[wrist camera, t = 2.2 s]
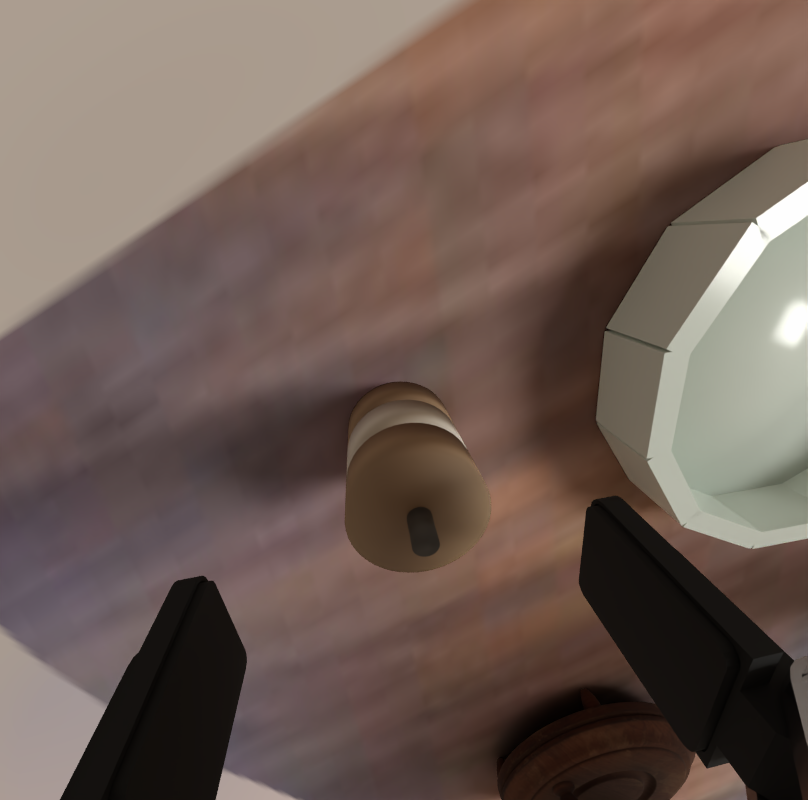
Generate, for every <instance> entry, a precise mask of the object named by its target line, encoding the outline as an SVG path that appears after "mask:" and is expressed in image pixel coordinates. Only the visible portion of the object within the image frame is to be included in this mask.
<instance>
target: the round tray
mask: <svg viewBox="0 0 808 800" xmlns="http://www.w3.org/2000/svg"><path fill="white" fill-rule="evenodd" d="M671 225H672V226H668V227H667V228H666V230H665V232H664V233H663V235H662V236H661V238H660V240H659V241H658V243H657V245H656V246H655V248H654V250H653V251H652V253H651V254H650V256H649V258H648V259H647V261H646V263H645V264H644V266H643V268H642V269H641V271H640V273H639V274H638V276H637V277H636V279H635V281H634V282H633V284H632V286H631V287H630V289H629V291H628V292H627V294H626V296H625V297H624V299H623V300H622V302H621V304H620V305H619V307H618V309H617V310H616V312H615V314H614V315H613V317H612V318H611V320H610V322H609V323H608V325H607V327H606V328H607V329H609V331H605V333H604V343H603V352H602V362H601V372H600V382H599V392H598V402H597V412H596V421H597V425H598V427H599V429H600V430H601V432H602V434H603V435H604V437H605V439H606V441H607V442H608V444H609V446H610V448H611V449H612V451H613V453H614V454H615V456H616V458H617V460H618V461H619V463H620V465H621V466H622V468H623V470H624V472H625V473H626V475H627V477H628V479H629V480H630V481H631V482H632V483H633V484H635V485H636V486H637V487H638V488H639V489H640V490H641V491H643V492H644V493H645V494H646V495H647V496H648V497H649V498H651V499H652V500H653V501H654V502H655V503H656V504H657V505H659V506H660V507H661V508H662V509H663V510H664V511H665V512H667V513H668V514H669V515H670V516H671V517H672V518H673V519H675V520H676V521H677V522H678V523H679V524H680V525H681V526H683V527H685V528H688V529H691V530H694V531H697V532H700V533H703V534H706V535H709V536H712V537H715V538H718V539H721V540H724V541H727V542H730V543H734V544H737V545H740V546H743V547H746V548H749V549H750V548H752V549H755V548H760V547H766V546H771V545H776V544H781V543H787V542H792V541H797V540H802V539H808V139H806V140H801V141H797V142H792V143H788V144H783V145H779V146H778V147H774V148H773V149H771V150H770V151H769V152H767V153H766V154H765V155H763V156H762V157H761V158H759V159H758V160H756V161H755V162H754V163H752V164H751V165H750V166H748V167H747V168H745V169H744V170H743V171H741V172H740V173H739V174H737V175H736V176H734V177H733V178H732V179H730V180H729V181H728V182H726V183H725V184H723V185H722V186H721V187H719V188H718V189H717V190H715V191H714V192H712V193H711V194H710V195H708V196H707V197H706V198H704V199H703V200H701V201H700V202H699V203H697V204H696V205H695V206H693V207H692V208H690V209H689V210H688V211H686V212H685V213H684V214H682V215H681V216H679V217H678V218H677V219H675V220H674V221H673V222H671Z"/></svg>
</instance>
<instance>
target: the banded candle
mask: <svg viewBox="0 0 808 800" xmlns="http://www.w3.org/2000/svg"><path fill="white" fill-rule="evenodd" d="M490 514H491V499H490V494H489V491H488V488H487V486H486V484H485V482H484V480H483V478H482V476H481V474H480V473H479V471H478V469H477V467H476V465H475V463H474V461H473V459H472V458H471V456H470V454H469V452H468V450H467V448H466V446H465V444H464V443H463V441H462V439H461V437H460V435H459V433H458V431H457V429H456V428H455V426H454V424H453V422H452V420H451V418H450V416H449V414H448V412H447V411H446V409H445V407H444V405H443V403H442V402H441V400H440V399H439V398H438V397H437V396H436V395H435V394H434V393H433V392H432V391H430V390H429V389H427V388H425V387H423V386H421V385H418V384H415V383H410V382H392V383H387V384H384V385H381V386H378V387H376V388H374V389H373V390H371V391H370V392H368V393H367V394H366V395H364V396H363V397H362V398H361V399H360V400H359V402H358V403H357V404H356V406H355V407H354V409H353V411H352V413H351V416H350V419H349V425H348V450H347V476H346V502H345V527H346V532H347V535H348V538H349V540H350V542H351V544H352V545H353V547H354V548H355V549H356V551H357V552H358V553H359V554H360V555H361V556H362V557H364V558H365V559H366V560H368V561H369V562H371V563H373V564H374V565H377V566H379V567H381V568H384V569H388V570H391V571H397V572H408V573H409V572H422V571H428V570H433V569H436V568H439V567H442V566H445V565H447V564H449V563H451V562H453V561H455V560H457V559H458V558H460V557H461V556H463V555H464V554H466V553H467V552H468V551H469V550H470V549H471V548H472V547H473V546H474V545H475V544H476V543H477V542H478V541H479V539H480V538H481V536H482V535H483V533H484V531H485V529H486V527H487V525H488V522H489V519H490Z"/></svg>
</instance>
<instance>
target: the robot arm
mask: <svg viewBox="0 0 808 800" xmlns="http://www.w3.org/2000/svg"><path fill="white" fill-rule="evenodd" d="M579 585H580V588H581V591H582V593H583V595H584V597H585V598H586V600H587V601H588V603H589V604H590V606H591V607H592V609H593V610H594V612H595V613H596V615H597V616H598V618H599V619H600V621H601V622H602V624H603V625H604V627H605V628H606V630H607V631H608V633H609V634H610V636H611V637H612V639H613V640H614V642H615V643H616V645H617V646H618V648H619V649H620V651H621V652H622V654H623V655H624V657H625V658H626V660H627V661H628V663H629V664H630V666H631V667H632V669H633V670H634V672H635V673H636V675H637V676H638V678H639V679H640V681H641V682H642V684H643V685H644V687H645V688H646V690H647V691H648V693H649V694H650V696H651V697H652V699H653V700H654V702H655V703H656V705H657V706H658V708H659V709H660V711H661V712H662V714H663V715H664V717H665V718H666V720H667V721H668V723H669V724H670V726H671V728H672V729H673V731H674V732H675V734H676V735H677V737H678V738H679V740H680V741H681V742H682V744H683V745H684V746H685V747H686V748H687V749H688V750H690V751H691V752H696V753H697V755H698V756H699V758H700V759H701V761H702V762H703V764H704V765H705V767H706V768H711V767H715V766H718V765H722V764H726V763H730V764H731V766H732V767H733V768H734V770H735V771H736V772H737V774H738V775H739V776H740V778H741V779H742V781H743V782H744V783H745V786H746V794H747V800H808V656H804V657H801V658H799V659H796V660H795V661H794V660H793V659H792V658H791V657H790V656H789V655H788V654H786V653H785V652H784V651H783V650H782V649H781V648H780V647H779V646H778V645H777V644H776V643H775V642H774V641H773V640H772V639H771V638H770V637H768V636H767V635H766V634H765V633H764V632H763V631H762V630H761V629H760V628H759V627H758V626H757V625H756V624H755V623H754V622H753V621H752V620H750V619H749V618H748V617H747V616H746V615H745V614H744V613H743V612H742V611H741V610H740V609H739V608H738V607H737V606H736V605H735V604H734V603H732V602H731V601H730V600H729V599H728V598H727V597H726V596H725V595H724V594H723V593H722V592H721V591H720V590H719V589H718V588H717V587H716V586H714V585H713V584H712V583H711V582H710V581H709V580H708V579H707V578H706V577H705V576H704V575H703V574H702V573H701V572H700V571H699V570H698V569H696V568H695V567H694V566H693V565H692V564H691V563H690V562H689V561H688V560H687V559H686V558H685V557H684V556H683V555H682V554H681V553H680V552H678V551H677V550H676V549H675V548H673V547H672V546H671V545H670V544H669V543H668V542H667V541H666V540H665V539H664V538H663V537H662V536H661V535H660V534H659V533H658V532H657V531H655V530H654V529H653V528H652V527H651V526H650V525H649V524H648V523H647V522H646V521H645V520H644V519H643V518H642V517H641V516H640V515H639V514H638V513H636V512H635V511H634V510H633V509H632V508H631V507H630V506H629V505H628V504H627V503H626V502H625V501H624V500H623V499H621V498H620V497H618V496H611V497H606V498H601V499H596V500H593V501H592V504H591V507H588V508H587V510H586V518H585V527H584V537H583V546H582V555H581V565H580V574H579ZM246 663H247V656H246V651H245V649H244V646H243V644H242V642H241V640H240V637H239V635H238V633H237V631H236V629H235V626H234V624H233V622H232V620H231V618H230V615H229V613H228V611H227V609H226V606H225V604H224V602H223V600H222V598H221V595H220V593H219V591H218V589H217V587H216V584H215V583H214V581H208V580H207V578H206V577H204V576H199V577H194V578H188V579H183V580H178V581H176V582H175V583H174V584H173V586H172V587H171V589H170V591H169V593H168V595H167V597H166V599H165V601H164V603H163V605H162V607H161V609H160V611H159V613H158V615H157V617H156V619H155V621H154V623H153V625H152V627H151V629H150V631H149V633H148V635H147V637H146V639H145V641H144V643H143V645H142V647H141V649H140V651H139V653H137V654H136V655H135V656H134V657H133V659H132V660H131V662H130V664H129V665H128V667H127V669H126V671H125V673H124V675H123V677H122V679H121V681H120V683H119V685H118V687H117V689H116V691H115V693H114V695H113V697H112V698H111V700H110V702H109V704H108V706H107V708H106V710H105V712H104V714H103V716H102V718H101V720H100V722H99V724H98V726H97V728H96V730H95V732H94V734H93V736H92V738H91V740H90V742H89V744H88V746H87V748H86V750H85V752H84V754H83V756H82V758H81V759H80V762H79V763H78V765H77V768H76V769H75V771H74V773H73V775H72V777H71V779H70V781H69V783H68V785H67V787H66V789H65V791H64V793H63V795H62V797H61V799H60V800H215V799H216V795H217V791H218V787H219V782H220V778H221V774H222V769H223V765H224V761H225V756H226V752H227V748H228V743H229V739H230V735H231V730H232V726H233V722H234V718H235V713H236V709H237V705H238V700H239V696H240V692H241V687H242V683H243V679H244V674H245V670H246Z"/></svg>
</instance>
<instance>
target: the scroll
mask: <svg viewBox="0 0 808 800" xmlns="http://www.w3.org/2000/svg"><path fill="white" fill-rule="evenodd" d="M581 700H582V703H583V707H584V710H582V711H579V712H576V713H573V714H571V715H568V716H566V717H563V718H561V719H559V720H557V721H555V722H553V723H551V724H549V725H547V726H545V727H543V728H542V729H540V730H538V731H537V732H535V733H534V734H532V735H531V736H530V737H528V738H527V739H526V740H524V741H523V742H522V743H521V744H520V745H519V746H517V747H516V748H515V749H514V750H513V752H512V753H511V754H510V755H509V756H508V757H507V759H506V760H504V759H503V758H499V759H498V761H497V776H498V789H499V793H500V797H501V799H502V800H670V799H671V798H672V797H673V796H674V795H675V794H676V792H677V791H678V790H679V789H680V788H681V787H682V785H683V784H684V782H685V781H686V779H687V777H688V775H689V772H690V767H691V765H692V763H693V760H694V758H695V753H696V752H691V751H690V750H688V749H687V748H686V747H685V746H684V745H683V744H682V742H681V741H680V740H679V738H678V737H677V735H676V734H675V732H674V731H673V729H672V728H671V726H670V724H669V723H668V721H667V720H666V718H665V717H664V715H663V714H662V712H661V711H660V709H659V708H658V706H657V705H656V704H653V703H646V702H620V703H612V704H605V705H601V704H600V703H599V701H598V700H597V699H596V697H595V696H594V695H593V694H592V693H591V692H590V691H589V690H588V689H586V688H583V689H582V690H581Z"/></svg>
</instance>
